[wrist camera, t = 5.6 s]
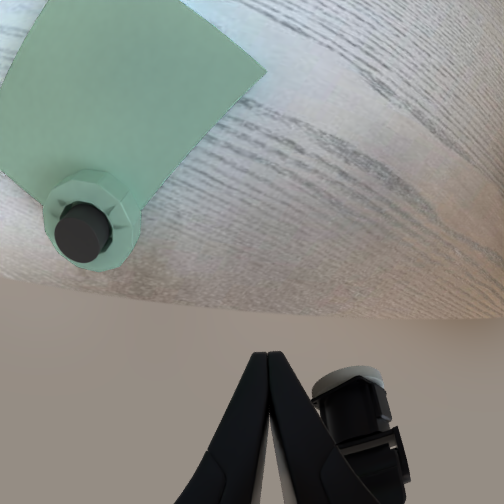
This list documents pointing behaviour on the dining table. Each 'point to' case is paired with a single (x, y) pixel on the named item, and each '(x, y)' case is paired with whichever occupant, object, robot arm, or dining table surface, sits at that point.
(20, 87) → the scale
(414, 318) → the dining table surface
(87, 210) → the button
